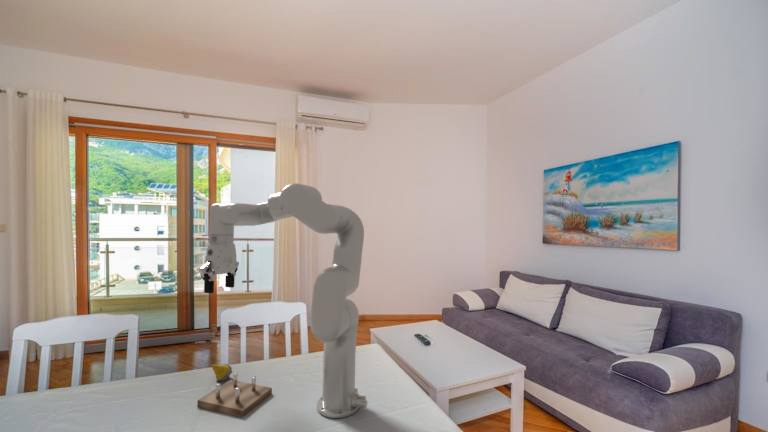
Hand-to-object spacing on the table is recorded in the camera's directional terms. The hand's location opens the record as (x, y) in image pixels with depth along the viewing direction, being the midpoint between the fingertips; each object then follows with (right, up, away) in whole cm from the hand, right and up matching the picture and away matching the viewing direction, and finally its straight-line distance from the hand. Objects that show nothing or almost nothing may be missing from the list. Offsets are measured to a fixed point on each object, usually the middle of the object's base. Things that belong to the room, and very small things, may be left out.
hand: (219, 289), depth 109 cm
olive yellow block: (+1, -31, 0) cm, 31 cm away
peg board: (+11, -31, -11) cm, 35 cm away
